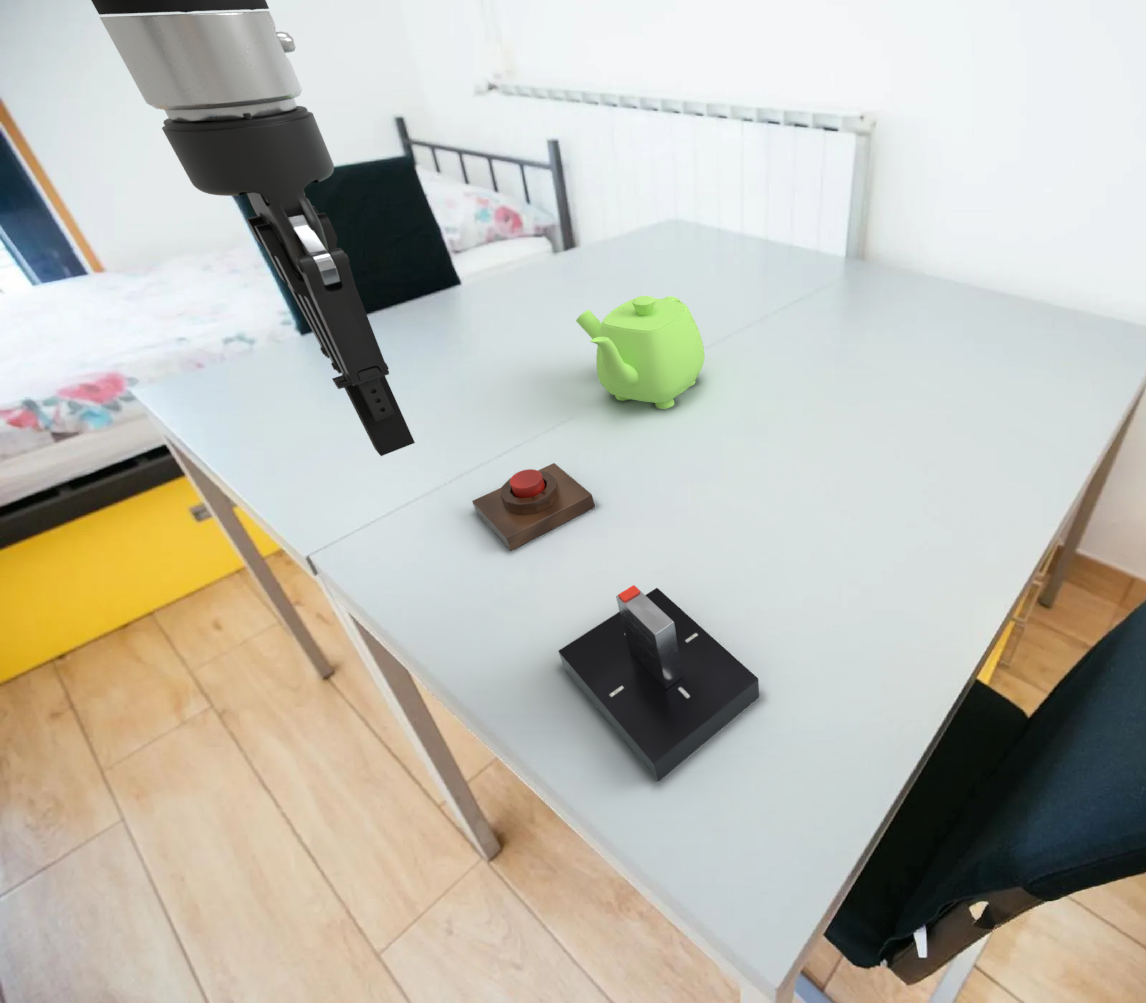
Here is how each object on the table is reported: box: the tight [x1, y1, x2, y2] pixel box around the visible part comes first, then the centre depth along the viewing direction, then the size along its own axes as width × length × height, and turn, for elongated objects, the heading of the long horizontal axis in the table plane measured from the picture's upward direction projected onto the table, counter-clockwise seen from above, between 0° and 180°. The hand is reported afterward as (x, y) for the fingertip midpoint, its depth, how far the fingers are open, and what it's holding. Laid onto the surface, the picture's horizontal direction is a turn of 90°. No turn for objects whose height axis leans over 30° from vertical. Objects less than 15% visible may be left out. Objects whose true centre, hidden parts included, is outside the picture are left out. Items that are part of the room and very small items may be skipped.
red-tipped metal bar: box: [615, 584, 683, 689], centre depth 57 cm, size 6×2×8 cm, turn 43°
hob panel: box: [557, 587, 760, 782], centre depth 60 cm, size 12×16×3 cm
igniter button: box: [509, 468, 545, 498], centre depth 79 cm, size 4×4×2 cm
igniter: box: [471, 462, 596, 551], centre depth 81 cm, size 12×10×4 cm
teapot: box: [575, 295, 706, 410], centre depth 101 cm, size 25×22×16 cm
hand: (394, 445), depth 51 cm, fingers closed
